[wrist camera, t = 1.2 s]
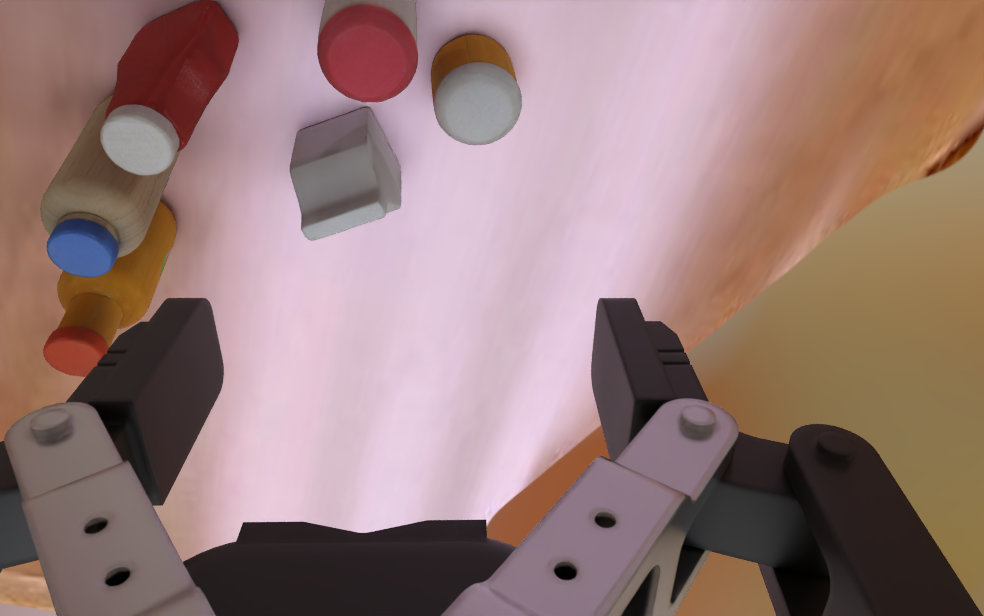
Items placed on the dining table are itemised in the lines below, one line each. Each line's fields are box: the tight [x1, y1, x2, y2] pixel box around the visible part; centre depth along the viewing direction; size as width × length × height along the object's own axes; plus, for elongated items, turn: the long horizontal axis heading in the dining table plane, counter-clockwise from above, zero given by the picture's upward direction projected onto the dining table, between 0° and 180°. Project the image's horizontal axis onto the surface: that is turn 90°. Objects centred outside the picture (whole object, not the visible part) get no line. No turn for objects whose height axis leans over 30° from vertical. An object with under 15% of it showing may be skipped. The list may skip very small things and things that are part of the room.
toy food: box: [40, 0, 522, 377], centre depth 36 cm, size 27×13×12 cm, turn 107°
